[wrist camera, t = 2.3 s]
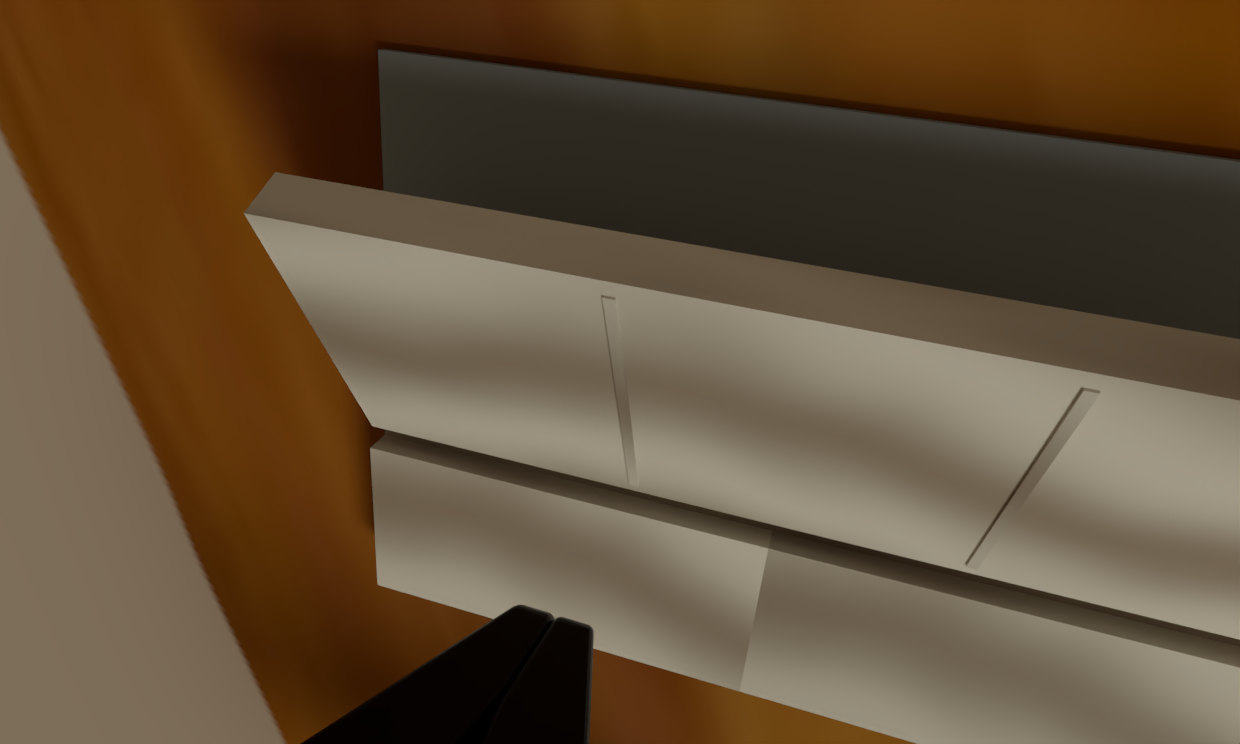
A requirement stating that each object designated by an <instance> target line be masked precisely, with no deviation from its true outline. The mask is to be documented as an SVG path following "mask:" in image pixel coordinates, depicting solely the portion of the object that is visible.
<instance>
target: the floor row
mask: <svg viewBox="0 0 1240 744" xmlns="http://www.w3.org/2000/svg"><path fill="white" fill-rule="evenodd" d="M370 456H371V474H372V493H373V511H374V529H375V547H376V565H377V583H378V585H380V586H383V587H387V588H390V589H394V590H397V591H400V592H404V593H407V594H410V595H414V596H417V597H421V598H424V599H427V600H431V601H434V602H438V603H441V604H444V605H448V606H451V607H455V608H458V609H461V610H465V611H468V612H472V613H475V614H478V615H482V616H485V617H489V618H492V619H494V618H496V617H498V616H499V615H501V614H502V613H504V612H505V611H507V610H508V609H510V608H512V607H513V606H516V605H526V606H529V607H532V608H536V609H539V610H542V611H546V612H549V613H551V614H552V615H553V616H554V618H555V619H556V618H557V617H565V618H568V619H572V620H575V621H578V622H581V623H585V624H588V625H590V626H591V627H592V628H593V631H594V640H593V648H594V649H597V650H601V651H604V652H608V653H611V654H614V655H618V656H621V657H625V658H628V659H631V660H635V661H638V662H642V663H645V664H648V665H652V666H655V667H659V668H662V669H665V670H669V671H672V672H676V673H679V674H682V675H686V676H689V677H692V678H696V679H699V680H703V681H706V682H709V683H713V684H716V685H720V686H723V687H726V688H730V689H733V690H737V691H740V692H743V693H747V694H750V695H754V696H757V697H760V698H764V699H767V700H771V701H774V702H777V703H781V704H784V705H788V706H791V707H794V708H798V709H801V710H805V711H808V712H811V713H815V714H818V715H822V716H825V717H828V718H832V719H835V720H839V721H842V722H845V723H849V724H852V725H856V726H859V727H862V728H866V729H869V730H873V731H876V732H879V733H883V734H886V735H890V736H893V737H896V738H900V739H903V740H907V741H910V742H913V743H917V744H1239V743H1240V640H1239V639H1235V638H1231V637H1227V636H1223V635H1219V634H1215V633H1211V632H1207V631H1203V630H1198V629H1194V628H1190V627H1186V626H1182V625H1178V624H1174V623H1170V622H1166V621H1162V620H1158V619H1154V618H1150V617H1146V616H1142V615H1138V614H1133V613H1129V612H1125V611H1121V610H1117V609H1113V608H1109V607H1105V606H1101V605H1097V604H1093V603H1089V602H1085V601H1081V600H1077V599H1072V598H1068V597H1064V596H1060V595H1056V594H1052V593H1048V592H1044V591H1040V590H1036V589H1032V588H1028V587H1024V586H1020V585H1016V584H1012V583H1007V582H1003V581H999V580H995V579H991V578H987V577H983V576H979V575H975V574H971V573H967V572H963V571H959V570H955V569H951V568H947V567H942V566H938V565H934V564H930V563H926V562H922V561H918V560H914V559H910V558H906V557H902V556H898V555H894V554H890V553H886V552H881V551H877V550H873V549H869V548H865V547H861V546H857V545H853V544H849V543H845V542H841V541H837V540H833V539H829V538H825V537H821V536H816V535H812V534H808V533H804V532H800V531H796V530H792V529H788V528H784V527H780V526H776V525H772V524H768V523H764V522H760V521H756V520H751V519H747V518H743V517H739V516H735V515H731V514H727V513H723V512H719V511H715V510H711V509H707V508H703V507H699V506H695V505H691V504H686V503H682V502H678V501H674V500H670V499H666V498H662V497H658V496H654V495H650V494H646V493H642V492H638V491H634V490H630V489H625V488H621V487H617V486H613V485H609V484H605V483H601V482H597V481H593V480H589V479H585V478H581V477H577V476H573V475H569V474H565V473H560V472H556V471H552V470H548V469H544V468H540V467H536V466H532V465H528V464H524V463H520V462H516V461H512V460H508V459H504V458H500V457H495V456H491V455H487V454H483V453H479V452H475V451H471V450H467V449H463V448H459V447H455V446H451V445H447V444H443V443H439V442H434V441H430V440H426V439H422V438H418V437H414V436H410V435H406V434H402V433H398V432H394V431H390V430H386V429H385V435H384V436H383V437H382V438H381V439H380V440H378V441H377V442H376V443H375V444H374V445H373V446H372V447H370Z"/></svg>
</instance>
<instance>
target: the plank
mask: <svg viewBox="0 0 1240 744" xmlns="http://www.w3.org/2000/svg"><path fill="white" fill-rule="evenodd" d="M244 214H245V216H246V218H247V219H248V221H249V223H250V224H251V226H252V228H253V229H254V231H255V233H256V234H257V236H258V238H259V239H260V241H261V243H262V244H263V246H264V248H265V249H266V251H267V253H268V254H269V256H270V258H271V259H272V261H273V263H274V264H275V266H276V268H277V269H278V271H279V272H280V274H281V276H282V277H283V279H284V281H285V282H286V284H287V286H288V287H289V289H290V291H291V292H292V294H293V296H294V297H295V299H296V301H297V302H298V304H299V306H300V307H301V309H302V311H303V312H304V314H305V316H306V317H307V319H308V321H309V322H310V324H311V326H312V327H313V329H314V330H315V332H316V334H317V335H318V337H319V339H320V340H321V342H322V344H323V345H324V347H325V349H326V350H327V352H328V354H329V355H330V357H331V359H332V360H333V362H334V364H335V365H336V367H337V369H338V370H339V372H340V374H341V375H342V377H343V379H344V380H345V382H346V384H347V385H348V387H349V388H350V390H351V392H352V393H353V395H354V397H355V398H356V400H357V402H358V403H359V405H360V407H361V408H362V410H363V412H364V413H365V415H366V417H367V418H368V420H369V422H370V423H371V425H372V426H374V427H378V428H382V429H386V430H390V431H394V432H398V433H402V434H406V435H410V436H414V437H418V438H422V439H426V440H430V441H434V442H439V443H443V444H447V445H451V446H455V447H459V448H463V449H467V450H471V451H475V452H479V453H483V454H487V455H491V456H495V457H500V458H504V459H508V460H512V461H516V462H520V463H524V464H528V465H532V466H536V467H540V468H544V469H548V470H552V471H556V472H560V473H565V474H569V475H573V476H577V477H581V478H585V479H589V480H593V481H597V482H601V483H605V484H609V485H613V486H617V487H621V488H625V489H630V490H634V491H638V492H642V493H646V494H650V495H654V496H658V497H662V498H666V499H670V500H674V501H678V502H682V503H686V504H691V505H695V506H699V507H703V508H707V509H711V510H715V511H719V512H723V513H727V514H731V515H735V516H739V517H743V518H747V519H751V520H756V521H760V522H764V523H768V524H772V525H776V526H780V527H784V528H788V529H792V530H796V531H800V532H804V533H808V534H812V535H816V536H821V537H825V538H829V539H833V540H837V541H841V542H845V543H849V544H853V545H857V546H861V547H865V548H869V549H873V550H877V551H881V552H886V553H890V554H894V555H898V556H902V557H906V558H910V559H914V560H918V561H922V562H926V563H930V564H934V565H938V566H942V567H947V568H951V569H955V570H959V571H963V572H967V573H971V574H975V575H979V576H983V577H987V578H991V579H995V580H999V581H1003V582H1007V583H1012V584H1016V585H1020V586H1024V587H1028V588H1032V589H1036V590H1040V591H1044V592H1048V593H1052V594H1056V595H1060V596H1064V597H1068V598H1072V599H1077V600H1081V601H1085V602H1089V603H1093V604H1097V605H1101V606H1105V607H1109V608H1113V609H1117V610H1121V611H1125V612H1129V613H1133V614H1138V615H1142V616H1146V617H1150V618H1154V619H1158V620H1162V621H1166V622H1170V623H1174V624H1178V625H1182V626H1186V627H1190V628H1194V629H1198V630H1203V631H1207V632H1211V633H1215V634H1219V635H1223V636H1227V637H1231V638H1235V639H1239V640H1240V339H1236V338H1230V337H1224V336H1218V335H1212V334H1207V333H1201V332H1195V331H1189V330H1184V329H1178V328H1172V327H1166V326H1160V325H1155V324H1149V323H1143V322H1137V321H1132V320H1126V319H1120V318H1114V317H1109V316H1103V315H1097V314H1091V313H1085V312H1080V311H1074V310H1068V309H1062V308H1057V307H1051V306H1045V305H1039V304H1033V303H1028V302H1022V301H1016V300H1010V299H1005V298H999V297H993V296H987V295H982V294H976V293H970V292H964V291H958V290H953V289H947V288H941V287H935V286H930V285H924V284H918V283H912V282H906V281H901V280H895V279H889V278H883V277H878V276H872V275H866V274H860V273H855V272H849V271H843V270H837V269H831V268H826V267H820V266H814V265H808V264H803V263H797V262H791V261H785V260H779V259H774V258H768V257H762V256H756V255H751V254H745V253H739V252H733V251H727V250H722V249H716V248H710V247H704V246H699V245H693V244H687V243H681V242H676V241H670V240H664V239H658V238H652V237H647V236H641V235H635V234H629V233H624V232H618V231H612V230H606V229H600V228H595V227H589V226H583V225H577V224H572V223H566V222H560V221H554V220H549V219H543V218H537V217H531V216H525V215H520V214H514V213H508V212H502V211H497V210H491V209H485V208H479V207H473V206H468V205H462V204H456V203H450V202H445V201H439V200H433V199H427V198H422V197H416V196H410V195H404V194H398V193H393V192H387V191H381V190H375V189H370V188H364V187H358V186H352V185H346V184H341V183H335V182H329V181H323V180H318V179H312V178H306V177H300V176H294V175H289V174H283V173H277V172H275V173H274V174H273V176H272V177H271V178H270V180H269V181H268V182H267V184H266V185H265V186H264V187H263V189H262V190H261V191H260V193H259V194H258V195H257V197H256V198H255V199H254V201H253V202H252V203H251V204H250V206H249V207H248V208H247V210H246V211H245V212H244Z"/></svg>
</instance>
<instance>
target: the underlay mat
mask: <svg viewBox="0 0 1240 744" xmlns="http://www.w3.org/2000/svg"><path fill="white" fill-rule="evenodd" d="M378 66H379V91H380V115H381V140H382V165H383V190H384V191H387V192H393V193H398V194H404V195H410V196H416V197H422V198H427V199H433V200H439V201H445V202H450V203H456V204H462V205H468V206H473V207H479V208H485V209H491V210H497V211H502V212H508V213H514V214H520V215H525V216H531V217H537V218H543V219H549V220H554V221H560V222H566V223H572V224H577V225H583V226H589V227H595V228H600V229H606V230H612V231H618V232H624V233H629V234H635V235H641V236H647V237H652V238H658V239H664V240H670V241H676V242H681V243H687V244H693V245H699V246H704V247H710V248H716V249H722V250H727V251H733V252H739V253H745V254H751V255H756V256H762V257H768V258H774V259H779V260H785V261H791V262H797V263H803V264H808V265H814V266H820V267H826V268H831V269H837V270H843V271H849V272H855V273H860V274H866V275H872V276H878V277H883V278H889V279H895V280H901V281H906V282H912V283H918V284H924V285H930V286H935V287H941V288H947V289H953V290H958V291H964V292H970V293H976V294H982V295H987V296H993V297H999V298H1005V299H1010V300H1016V301H1022V302H1028V303H1033V304H1039V305H1045V306H1051V307H1057V308H1062V309H1068V310H1074V311H1080V312H1085V313H1091V314H1097V315H1103V316H1109V317H1114V318H1120V319H1126V320H1132V321H1137V322H1143V323H1149V324H1155V325H1160V326H1166V327H1172V328H1178V329H1184V330H1189V331H1195V332H1201V333H1207V334H1212V335H1218V336H1224V337H1230V338H1236V339H1240V160H1239V159H1232V158H1224V157H1216V156H1208V155H1201V154H1193V153H1185V152H1178V151H1170V150H1162V149H1154V148H1147V147H1139V146H1131V145H1124V144H1116V143H1108V142H1100V141H1093V140H1085V139H1077V138H1070V137H1062V136H1054V135H1046V134H1039V133H1031V132H1023V131H1016V130H1008V129H1000V128H992V127H985V126H977V125H969V124H962V123H954V122H946V121H938V120H931V119H923V118H915V117H908V116H900V115H892V114H884V113H877V112H869V111H861V110H854V109H846V108H838V107H830V106H823V105H815V104H807V103H800V102H792V101H784V100H776V99H769V98H761V97H753V96H746V95H738V94H730V93H722V92H715V91H707V90H699V89H692V88H684V87H676V86H668V85H661V84H653V83H645V82H638V81H630V80H622V79H614V78H607V77H599V76H591V75H584V74H576V73H568V72H560V71H553V70H545V69H537V68H530V67H522V66H514V65H506V64H499V63H491V62H483V61H476V60H468V59H460V58H452V57H445V56H437V55H429V54H422V53H414V52H406V51H398V50H391V49H379V50H378ZM1239 744H1240V743H1239Z"/></svg>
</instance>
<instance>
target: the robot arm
mask: <svg viewBox="0 0 1240 744" xmlns="http://www.w3.org/2000/svg"><path fill="white" fill-rule="evenodd" d="M593 640H594V631H593V628H592V627H591V626H590V625H588V624H585V623H581V622H578V621H575V620H572V619H568V618H565V617H557V618H556V619H555V618H554V616H553V615H552V614H551V613H549V612H546V611H542V610H539V609H536V608H532V607H529V606H526V605H516V606H513V607H512V608H510V609H508V610H507V611H505V612H504V613H502V614H501V615H499V616H498V617H496V618H494V619H493V620H491V621H490V622H488V623H487V624H485V625H484V626H482V627H481V628H479V629H477V630H476V631H474V632H473V633H471V634H470V635H468V636H467V637H465V638H463V639H462V640H460V641H459V642H457V643H456V644H454V645H453V646H451V647H450V648H448V649H446V650H445V651H443V652H442V653H440V654H439V655H437V656H436V657H434V658H433V659H431V660H429V661H428V662H426V663H425V664H423V665H422V666H420V667H419V668H417V669H416V670H414V671H412V672H411V673H409V674H408V675H406V676H405V677H403V678H402V679H400V680H399V681H397V682H395V683H394V684H392V685H391V686H389V687H388V688H386V689H385V690H383V691H382V692H380V693H378V694H377V695H375V696H374V697H372V698H371V699H369V700H368V701H366V702H364V703H363V704H361V705H360V706H358V707H357V708H355V709H354V710H352V711H351V712H349V713H347V714H346V715H344V716H343V717H341V718H340V719H338V720H337V721H335V722H334V723H332V724H330V725H329V726H327V727H326V728H324V729H323V730H321V731H320V732H318V733H317V734H315V735H313V736H312V737H310V738H309V739H307V740H306V741H304V742H303V743H301V744H589V735H590V711H591V688H592V664H593Z"/></svg>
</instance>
